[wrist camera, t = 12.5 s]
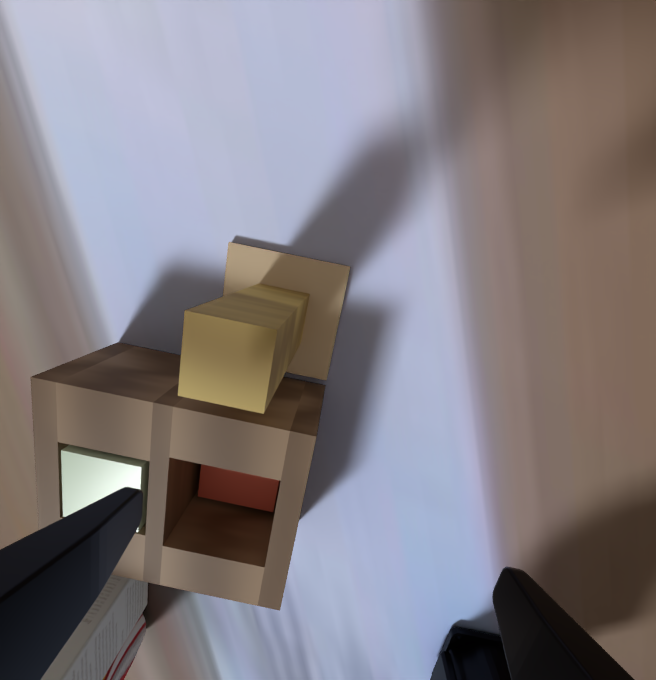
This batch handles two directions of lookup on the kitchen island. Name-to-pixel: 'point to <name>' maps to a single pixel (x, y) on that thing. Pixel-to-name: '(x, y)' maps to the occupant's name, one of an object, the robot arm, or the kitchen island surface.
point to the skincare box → (101, 631)
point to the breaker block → (182, 467)
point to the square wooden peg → (241, 346)
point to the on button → (99, 477)
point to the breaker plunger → (238, 488)
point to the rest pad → (300, 276)
